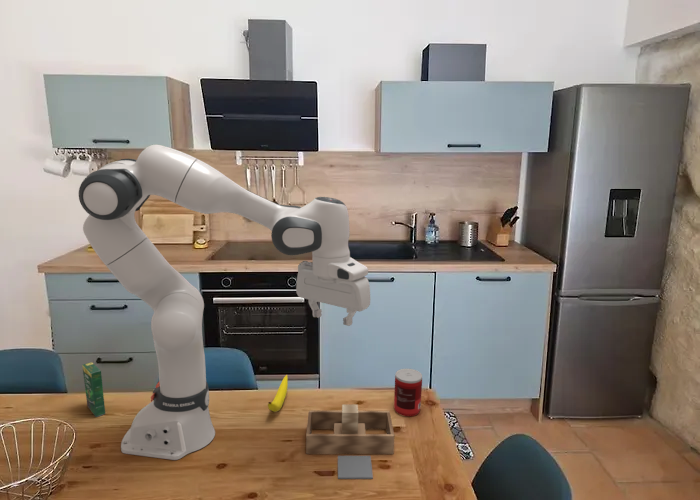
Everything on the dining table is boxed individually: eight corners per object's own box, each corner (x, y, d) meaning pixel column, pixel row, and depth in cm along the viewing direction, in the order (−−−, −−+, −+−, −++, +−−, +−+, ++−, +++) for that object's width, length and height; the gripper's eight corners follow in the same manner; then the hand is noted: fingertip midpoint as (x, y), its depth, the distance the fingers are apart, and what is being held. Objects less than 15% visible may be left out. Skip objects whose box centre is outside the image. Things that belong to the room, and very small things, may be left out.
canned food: (413, 400, 149) (414, 366, 147) (425, 414, 142) (427, 379, 139) (389, 404, 147) (390, 370, 144) (400, 419, 139) (402, 382, 137)
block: (341, 434, 126) (342, 412, 125) (341, 425, 130) (342, 404, 129) (357, 434, 127) (358, 412, 125) (357, 425, 130) (357, 404, 129)
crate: (306, 454, 123) (306, 435, 122) (308, 427, 134) (308, 410, 133) (393, 454, 124) (394, 436, 123) (388, 427, 135) (389, 410, 134)
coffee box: (86, 406, 143) (81, 363, 140) (96, 402, 145) (92, 360, 142) (94, 417, 137) (90, 373, 134) (106, 414, 139) (101, 370, 136)
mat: (337, 478, 114) (337, 477, 114) (337, 457, 122) (337, 455, 122) (372, 478, 115) (372, 477, 115) (370, 457, 122) (370, 455, 122)
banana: (291, 389, 154) (291, 370, 153) (275, 424, 136) (275, 402, 134) (282, 389, 155) (282, 370, 153) (264, 423, 136) (264, 402, 135)
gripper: (289, 262, 122) (291, 315, 125) (358, 275, 110) (358, 334, 113) (306, 257, 127) (308, 308, 130) (374, 269, 115) (373, 325, 118)
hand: (332, 320), depth 122 cm, fingers open, 8 cm apart
